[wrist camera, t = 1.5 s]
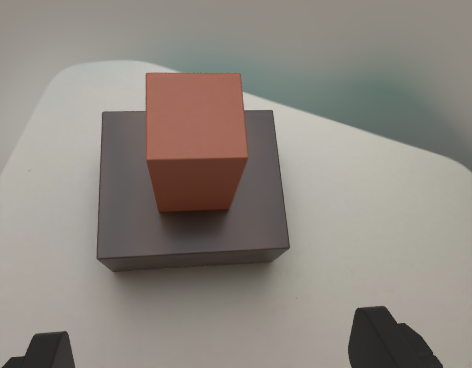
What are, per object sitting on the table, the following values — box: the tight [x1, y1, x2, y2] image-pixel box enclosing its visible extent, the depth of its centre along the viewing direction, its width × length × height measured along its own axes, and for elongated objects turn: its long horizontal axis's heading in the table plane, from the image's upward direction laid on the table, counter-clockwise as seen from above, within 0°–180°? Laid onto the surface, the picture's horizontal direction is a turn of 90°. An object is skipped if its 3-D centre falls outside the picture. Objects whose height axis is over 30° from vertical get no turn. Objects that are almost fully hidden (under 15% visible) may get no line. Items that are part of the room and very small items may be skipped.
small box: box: [146, 73, 249, 212], centre depth 24 cm, size 5×5×9 cm
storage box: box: [97, 110, 290, 272], centre depth 31 cm, size 13×11×6 cm
